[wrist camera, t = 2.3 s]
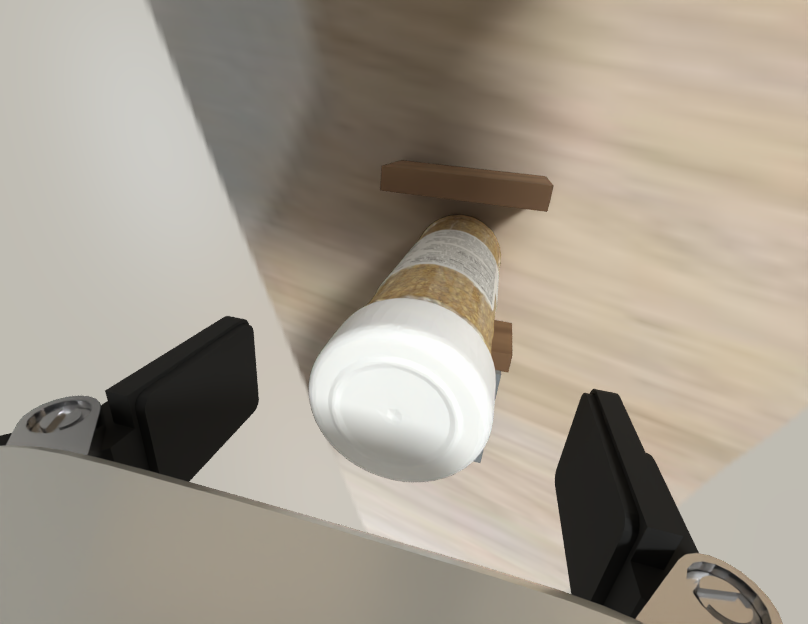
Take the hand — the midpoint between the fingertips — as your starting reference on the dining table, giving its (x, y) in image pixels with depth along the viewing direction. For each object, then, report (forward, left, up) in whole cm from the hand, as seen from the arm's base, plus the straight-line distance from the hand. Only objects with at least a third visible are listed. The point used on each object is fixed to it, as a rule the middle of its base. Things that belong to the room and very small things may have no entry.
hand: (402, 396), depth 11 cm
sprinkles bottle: (-1, 0, -12) cm, 12 cm away
